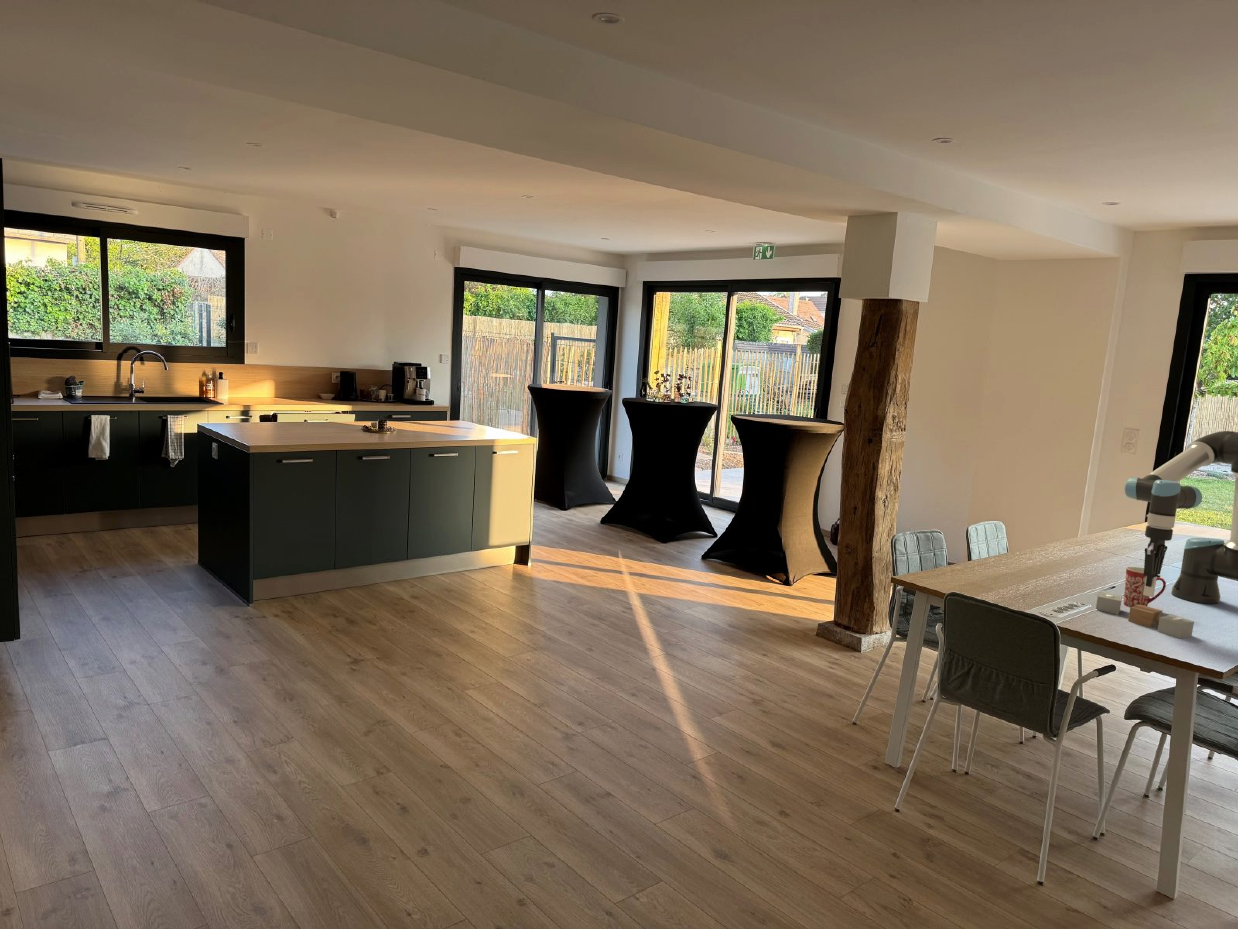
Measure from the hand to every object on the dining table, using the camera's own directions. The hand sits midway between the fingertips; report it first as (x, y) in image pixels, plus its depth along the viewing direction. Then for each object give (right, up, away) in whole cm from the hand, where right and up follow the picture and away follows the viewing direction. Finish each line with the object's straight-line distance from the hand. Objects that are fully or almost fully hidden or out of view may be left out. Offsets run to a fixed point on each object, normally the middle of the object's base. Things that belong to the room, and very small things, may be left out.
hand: (1148, 595), depth 277 cm
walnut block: (0, -10, +2) cm, 10 cm away
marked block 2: (+3, -11, -8) cm, 14 cm away
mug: (+10, -7, +19) cm, 23 cm away
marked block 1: (-5, -7, +14) cm, 17 cm away
